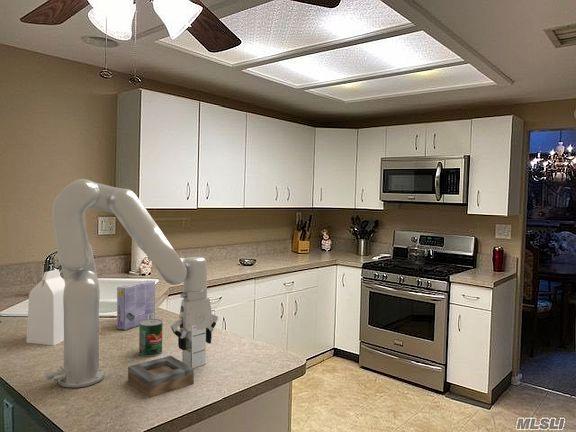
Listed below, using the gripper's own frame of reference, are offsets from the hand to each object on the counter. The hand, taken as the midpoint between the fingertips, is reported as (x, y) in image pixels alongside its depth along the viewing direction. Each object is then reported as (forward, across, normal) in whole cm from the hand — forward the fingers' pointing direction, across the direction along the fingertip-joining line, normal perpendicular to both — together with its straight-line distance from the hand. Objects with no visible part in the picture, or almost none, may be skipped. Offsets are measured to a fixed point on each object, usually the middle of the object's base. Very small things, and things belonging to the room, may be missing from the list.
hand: (195, 345), depth 146 cm
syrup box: (+6, 0, 0) cm, 6 cm away
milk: (+6, -28, +56) cm, 63 cm away
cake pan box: (+6, +5, +54) cm, 55 cm away
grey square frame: (+6, -15, -6) cm, 18 cm away
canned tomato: (+6, -6, +19) cm, 21 cm away
